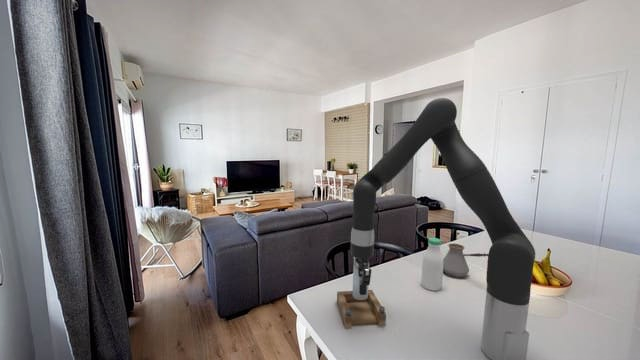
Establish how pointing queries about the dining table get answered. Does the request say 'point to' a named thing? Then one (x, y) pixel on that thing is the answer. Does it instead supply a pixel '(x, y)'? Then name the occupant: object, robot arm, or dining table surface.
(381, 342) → the dining table surface
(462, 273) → the coffee pot
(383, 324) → the holder
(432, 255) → the milk bottle
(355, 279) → the cylinder
